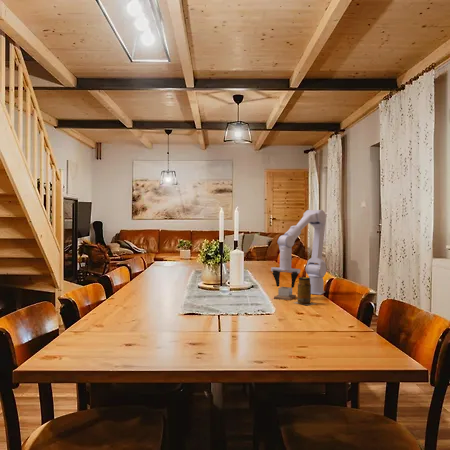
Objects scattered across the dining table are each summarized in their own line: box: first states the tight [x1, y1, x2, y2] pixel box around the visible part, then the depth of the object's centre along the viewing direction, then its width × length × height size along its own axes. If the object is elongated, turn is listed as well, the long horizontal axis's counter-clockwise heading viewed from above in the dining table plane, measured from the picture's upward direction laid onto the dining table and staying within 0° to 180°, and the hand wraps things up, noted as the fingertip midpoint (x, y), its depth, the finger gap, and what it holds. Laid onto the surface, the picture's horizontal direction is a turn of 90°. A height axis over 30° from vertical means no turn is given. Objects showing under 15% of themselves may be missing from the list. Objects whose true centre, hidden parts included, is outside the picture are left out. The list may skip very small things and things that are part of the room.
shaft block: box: [273, 294, 297, 301], centre depth 224 cm, size 10×8×4 cm
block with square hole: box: [277, 286, 293, 297], centre depth 224 cm, size 5×5×4 cm
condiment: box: [293, 276, 317, 306], centre depth 210 cm, size 7×8×12 cm
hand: (285, 286), depth 224 cm, fingers open, 7 cm apart
